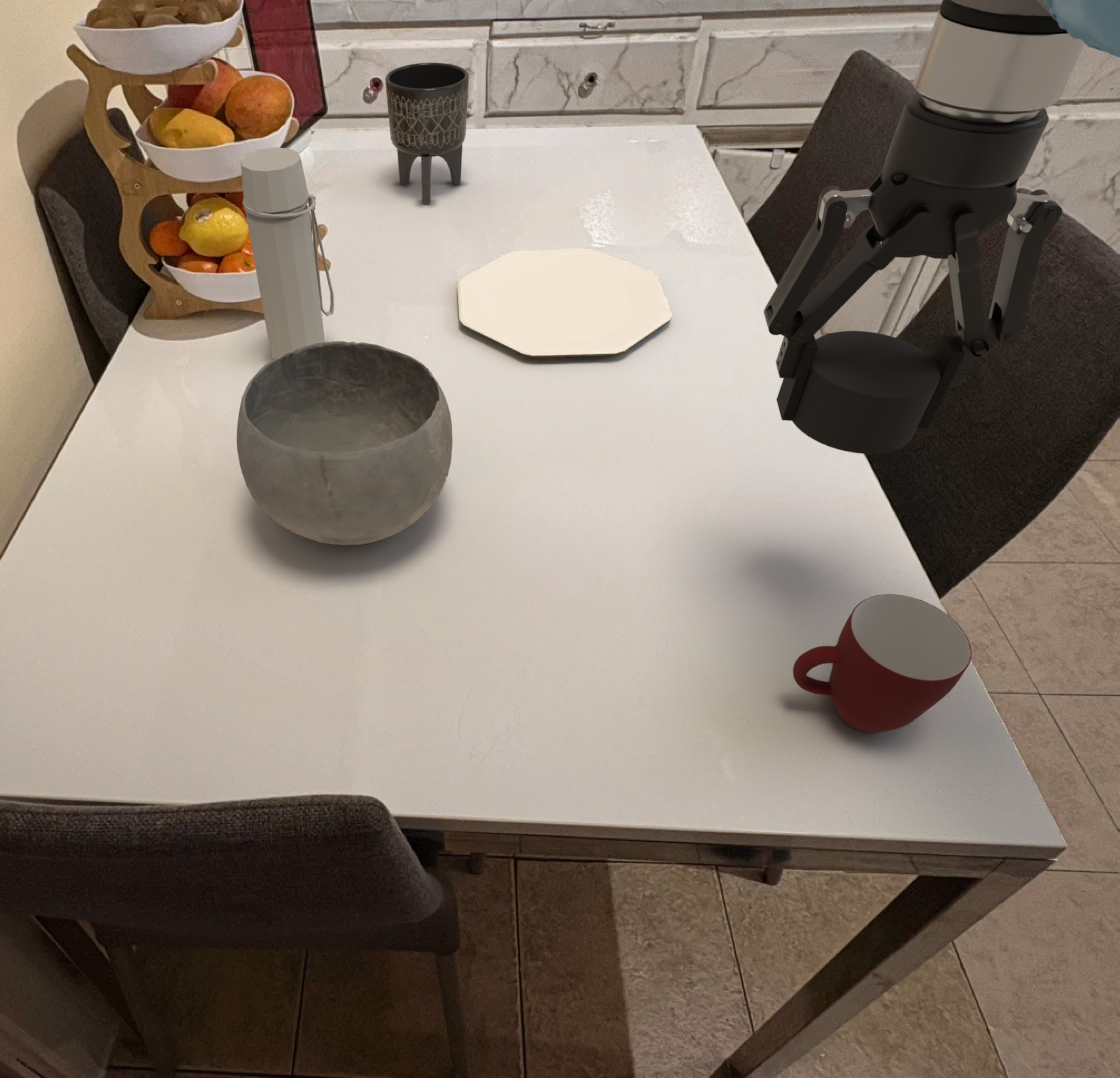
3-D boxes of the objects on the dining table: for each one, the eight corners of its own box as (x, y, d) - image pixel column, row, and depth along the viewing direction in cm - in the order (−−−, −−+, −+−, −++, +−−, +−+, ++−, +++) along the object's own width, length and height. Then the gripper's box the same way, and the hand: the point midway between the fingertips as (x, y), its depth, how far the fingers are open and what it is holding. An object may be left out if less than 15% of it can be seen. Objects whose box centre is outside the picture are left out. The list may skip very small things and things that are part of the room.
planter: (465, 206, 137) (466, 89, 124) (386, 206, 138) (380, 90, 126) (469, 174, 146) (470, 61, 133) (395, 174, 147) (390, 62, 135)
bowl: (458, 580, 80) (459, 458, 69) (243, 588, 80) (212, 469, 69) (446, 443, 94) (445, 325, 84) (264, 451, 95) (241, 335, 84)
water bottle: (285, 382, 104) (250, 179, 86) (261, 352, 109) (224, 154, 91) (351, 360, 107) (331, 159, 89) (325, 332, 112) (302, 136, 94)
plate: (685, 361, 103) (687, 350, 102) (461, 366, 105) (461, 356, 104) (644, 255, 123) (646, 245, 122) (455, 261, 124) (455, 251, 123)
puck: (928, 410, 65) (956, 354, 62) (892, 470, 60) (920, 413, 57) (812, 372, 69) (831, 318, 66) (769, 425, 65) (788, 370, 61)
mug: (795, 757, 65) (837, 683, 58) (765, 672, 71) (800, 594, 64) (934, 756, 65) (994, 681, 58) (893, 670, 70) (942, 592, 63)
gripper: (1156, 80, 50) (986, 393, 66) (774, 79, 53) (700, 378, 69) (1222, 125, 45) (1020, 453, 61) (794, 120, 48) (709, 434, 64)
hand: (850, 413), depth 65 cm, fingers closed on puck, 9 cm apart
